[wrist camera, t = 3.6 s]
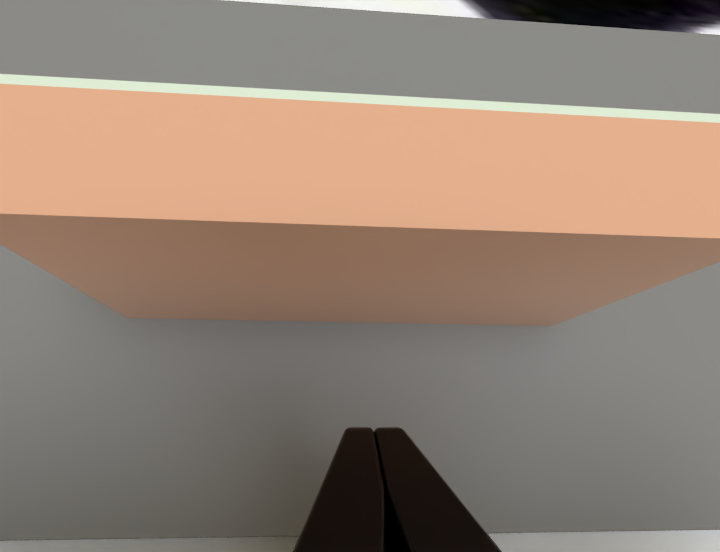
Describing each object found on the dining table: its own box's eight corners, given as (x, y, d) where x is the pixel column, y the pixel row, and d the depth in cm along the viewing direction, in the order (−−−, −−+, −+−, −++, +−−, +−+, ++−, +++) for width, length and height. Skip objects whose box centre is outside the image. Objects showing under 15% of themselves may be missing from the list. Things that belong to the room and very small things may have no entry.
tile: (551, 326, 15) (775, 240, 8) (126, 317, 14) (-56, 211, 7) (545, 252, 16) (750, 110, 8) (135, 240, 15) (-28, 66, 7)
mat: (799, 525, 15) (812, 527, 15) (-191, 539, 13) (-207, 543, 12) (714, 43, 19) (723, 35, 18) (-68, -10, 16) (-77, -21, 16)
